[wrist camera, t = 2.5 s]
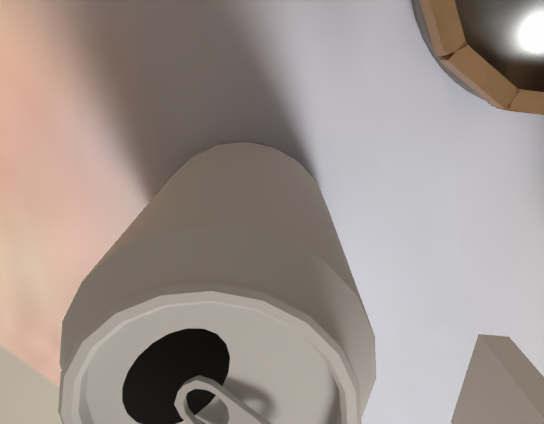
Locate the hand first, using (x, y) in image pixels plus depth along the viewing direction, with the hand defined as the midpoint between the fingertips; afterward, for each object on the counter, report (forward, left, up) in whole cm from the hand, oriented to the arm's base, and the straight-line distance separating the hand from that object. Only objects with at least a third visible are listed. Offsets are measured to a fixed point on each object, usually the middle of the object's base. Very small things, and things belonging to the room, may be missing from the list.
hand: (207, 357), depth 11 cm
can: (0, 0, -10) cm, 10 cm away
